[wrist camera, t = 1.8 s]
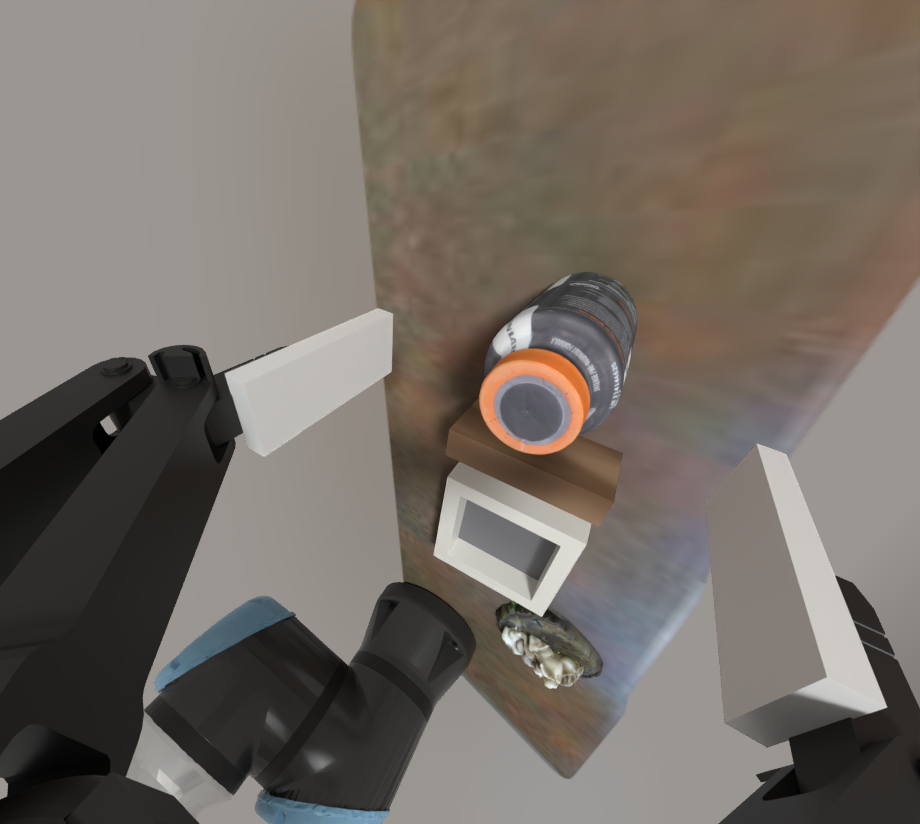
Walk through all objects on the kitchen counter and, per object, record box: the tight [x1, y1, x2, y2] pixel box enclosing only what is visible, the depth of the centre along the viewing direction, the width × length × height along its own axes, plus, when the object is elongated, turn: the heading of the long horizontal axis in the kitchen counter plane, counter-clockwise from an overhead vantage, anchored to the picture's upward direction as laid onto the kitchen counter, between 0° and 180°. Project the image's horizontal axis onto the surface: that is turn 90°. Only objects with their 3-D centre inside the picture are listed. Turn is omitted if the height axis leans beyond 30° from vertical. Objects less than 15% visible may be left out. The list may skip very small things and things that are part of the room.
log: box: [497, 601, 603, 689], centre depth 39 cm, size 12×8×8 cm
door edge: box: [445, 397, 623, 527], centre depth 25 cm, size 2×11×5 cm, turn 81°
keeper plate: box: [434, 462, 591, 617], centre depth 33 cm, size 12×12×2 cm
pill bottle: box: [479, 272, 638, 455], centre depth 17 cm, size 6×6×11 cm
